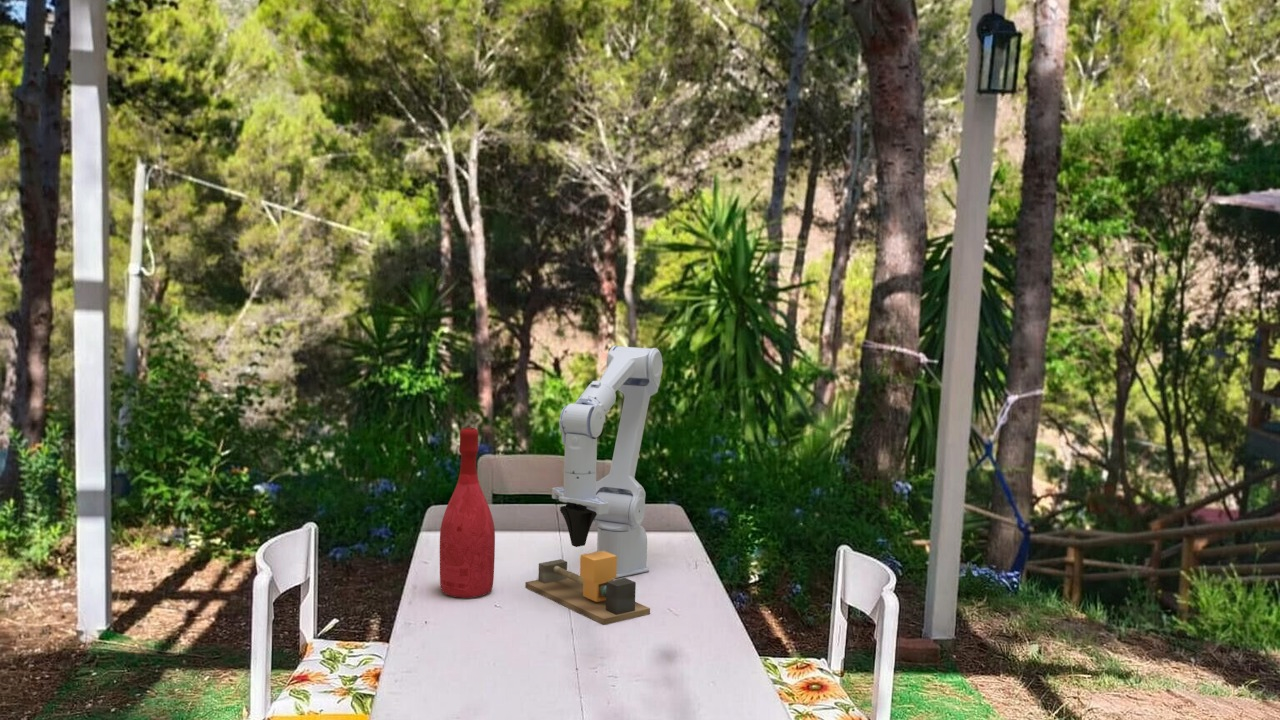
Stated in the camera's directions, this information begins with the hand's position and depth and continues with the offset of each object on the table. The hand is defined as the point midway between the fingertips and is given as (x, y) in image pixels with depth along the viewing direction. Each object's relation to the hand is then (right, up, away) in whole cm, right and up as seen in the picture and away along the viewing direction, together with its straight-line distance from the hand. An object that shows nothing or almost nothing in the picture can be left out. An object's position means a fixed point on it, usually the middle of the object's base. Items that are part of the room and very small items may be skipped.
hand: (578, 545), depth 201 cm
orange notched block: (+4, -8, -4) cm, 10 cm away
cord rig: (+1, -10, -1) cm, 10 cm away
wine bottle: (-20, -9, +2) cm, 22 cm away
